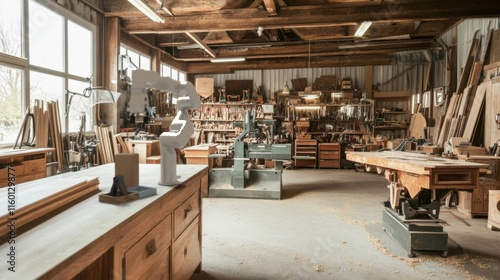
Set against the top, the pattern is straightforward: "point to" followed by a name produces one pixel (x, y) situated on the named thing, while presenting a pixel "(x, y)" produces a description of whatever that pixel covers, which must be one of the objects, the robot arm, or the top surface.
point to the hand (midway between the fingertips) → (139, 123)
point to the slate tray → (143, 191)
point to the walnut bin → (117, 199)
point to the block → (128, 168)
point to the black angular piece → (118, 186)
